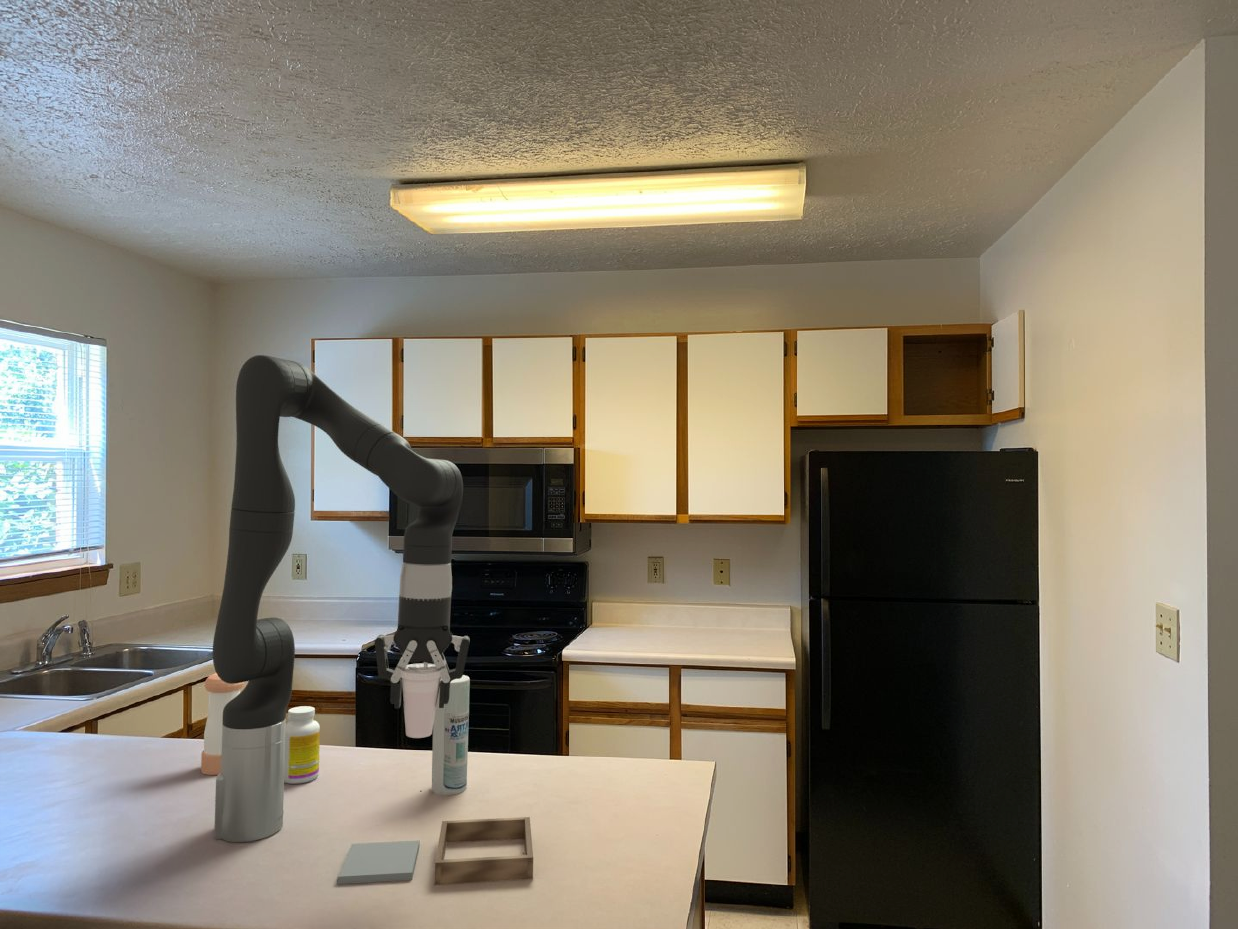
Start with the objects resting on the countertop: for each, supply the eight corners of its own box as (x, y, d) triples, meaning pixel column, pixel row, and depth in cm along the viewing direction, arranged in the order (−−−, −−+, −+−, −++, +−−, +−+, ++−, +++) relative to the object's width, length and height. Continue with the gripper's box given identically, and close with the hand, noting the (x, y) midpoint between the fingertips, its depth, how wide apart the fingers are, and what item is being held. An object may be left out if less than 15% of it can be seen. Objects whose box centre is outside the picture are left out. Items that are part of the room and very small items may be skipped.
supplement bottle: (326, 777, 147) (328, 708, 147) (295, 788, 141) (297, 716, 142) (304, 769, 150) (306, 702, 151) (272, 780, 145) (274, 710, 145)
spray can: (450, 779, 147) (452, 672, 147) (474, 787, 143) (477, 677, 143) (423, 789, 141) (426, 679, 142) (448, 798, 138) (450, 684, 138)
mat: (337, 884, 107) (338, 876, 108) (351, 850, 117) (351, 843, 117) (412, 879, 109) (412, 872, 109) (419, 847, 119) (419, 840, 119)
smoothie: (429, 743, 111) (434, 645, 112) (388, 738, 112) (393, 641, 113) (447, 729, 118) (452, 636, 118) (408, 725, 119) (412, 633, 119)
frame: (434, 884, 108) (434, 863, 108) (441, 840, 121) (442, 821, 121) (532, 879, 110) (533, 857, 110) (529, 836, 123) (529, 817, 123)
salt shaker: (231, 775, 147) (234, 673, 147) (193, 774, 147) (196, 672, 147) (250, 762, 154) (253, 664, 154) (213, 761, 154) (216, 664, 155)
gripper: (371, 595, 111) (365, 715, 110) (474, 597, 113) (468, 714, 113) (378, 588, 118) (373, 699, 118) (475, 590, 120) (469, 699, 120)
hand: (419, 706), depth 115 cm, fingers closed on smoothie, 5 cm apart
